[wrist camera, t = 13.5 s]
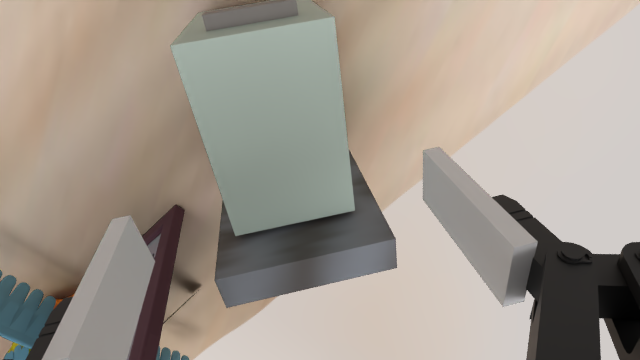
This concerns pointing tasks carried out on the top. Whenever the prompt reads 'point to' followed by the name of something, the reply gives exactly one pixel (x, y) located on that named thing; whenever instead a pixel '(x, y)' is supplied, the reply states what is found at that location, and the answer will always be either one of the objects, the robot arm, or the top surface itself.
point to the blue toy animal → (33, 319)
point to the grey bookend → (305, 251)
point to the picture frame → (157, 284)
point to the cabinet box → (269, 110)
